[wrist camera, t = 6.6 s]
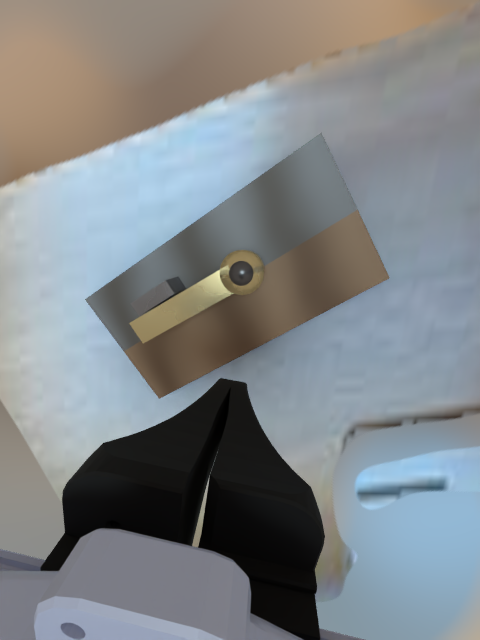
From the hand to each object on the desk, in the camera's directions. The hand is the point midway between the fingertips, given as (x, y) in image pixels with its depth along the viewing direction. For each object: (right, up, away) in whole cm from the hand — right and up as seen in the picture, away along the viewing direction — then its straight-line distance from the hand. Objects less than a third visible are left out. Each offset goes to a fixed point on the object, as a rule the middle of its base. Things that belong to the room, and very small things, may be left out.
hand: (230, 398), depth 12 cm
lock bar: (-2, +6, +6) cm, 8 cm away
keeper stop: (-5, +6, +6) cm, 10 cm away
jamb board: (0, +6, +7) cm, 9 cm away
